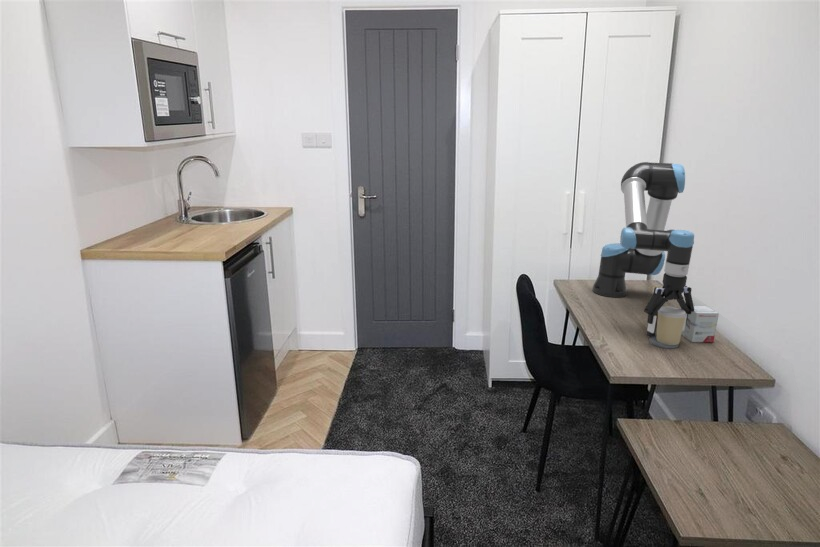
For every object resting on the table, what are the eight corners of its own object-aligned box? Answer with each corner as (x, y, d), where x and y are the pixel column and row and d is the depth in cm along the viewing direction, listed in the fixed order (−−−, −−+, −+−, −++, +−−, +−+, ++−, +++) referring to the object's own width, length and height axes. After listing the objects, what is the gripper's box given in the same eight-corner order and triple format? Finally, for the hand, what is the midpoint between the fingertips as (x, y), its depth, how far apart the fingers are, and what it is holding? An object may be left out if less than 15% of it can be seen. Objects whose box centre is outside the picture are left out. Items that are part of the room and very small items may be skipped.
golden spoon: (661, 293, 216) (662, 287, 216) (662, 306, 201) (664, 299, 200) (649, 291, 218) (650, 285, 217) (649, 304, 202) (651, 298, 201)
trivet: (650, 335, 207) (651, 334, 207) (679, 341, 202) (680, 340, 202) (646, 344, 199) (647, 342, 198) (676, 350, 194) (677, 349, 194)
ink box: (701, 334, 210) (707, 305, 207) (713, 342, 202) (720, 312, 199) (679, 333, 210) (684, 304, 207) (691, 342, 202) (697, 312, 199)
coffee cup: (670, 335, 206) (674, 305, 203) (687, 344, 197) (692, 313, 194) (648, 337, 204) (652, 306, 201) (664, 347, 195) (669, 315, 192)
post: (647, 333, 209) (652, 302, 206) (656, 335, 207) (661, 304, 204) (645, 336, 206) (650, 304, 203) (654, 338, 205) (660, 306, 201)
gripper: (652, 278, 187) (643, 336, 193) (712, 275, 192) (701, 332, 198) (639, 272, 194) (630, 328, 200) (696, 270, 199) (686, 324, 205)
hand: (665, 330), depth 199 cm, fingers open, 12 cm apart
